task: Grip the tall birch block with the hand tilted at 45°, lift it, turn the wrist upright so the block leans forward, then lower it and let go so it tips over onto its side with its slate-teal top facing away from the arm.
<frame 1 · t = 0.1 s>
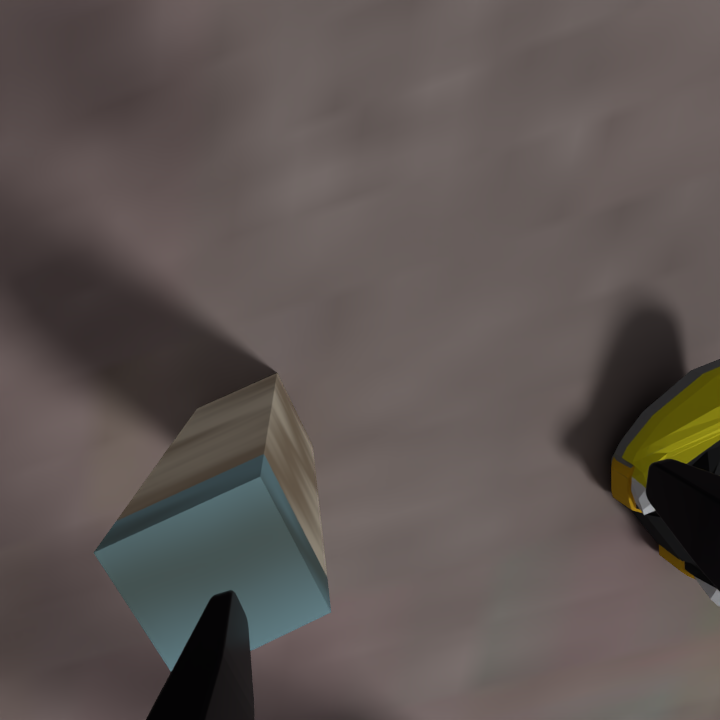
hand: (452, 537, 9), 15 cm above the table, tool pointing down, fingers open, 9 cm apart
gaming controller: (686, 468, 29), on the table
birch block: (256, 427, 24), on the table
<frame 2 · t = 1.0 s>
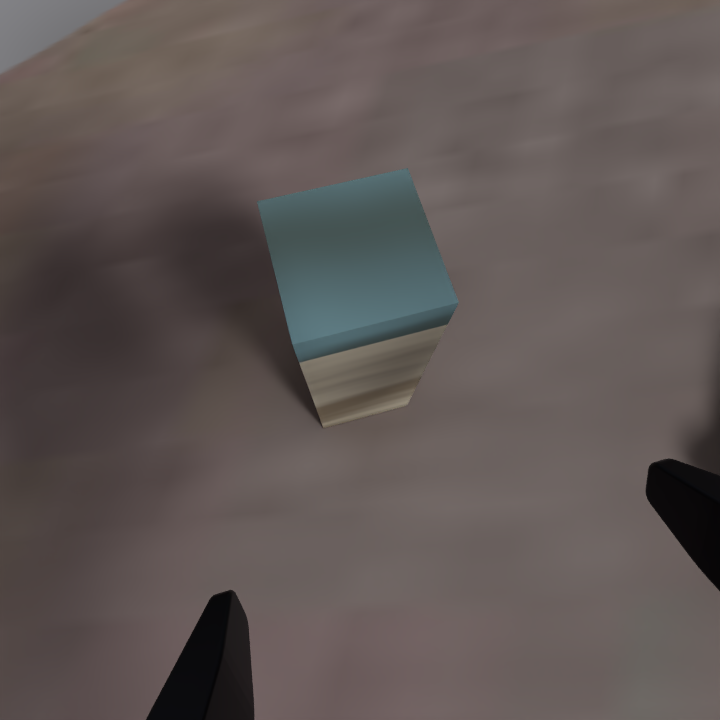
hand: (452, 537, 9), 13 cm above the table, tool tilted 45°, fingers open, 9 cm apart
birch block: (354, 376, 24), on the table
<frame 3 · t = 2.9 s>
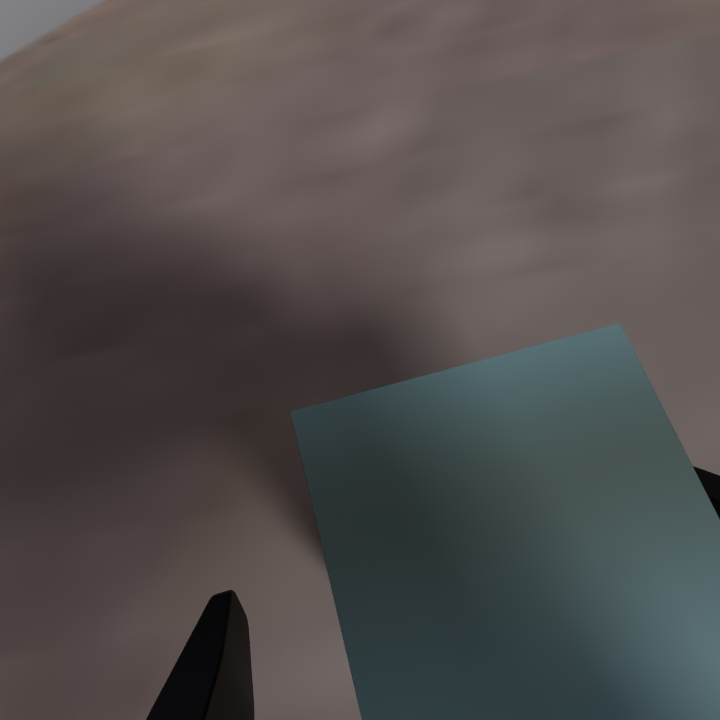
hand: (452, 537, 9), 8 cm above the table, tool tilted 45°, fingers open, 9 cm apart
birch block: (409, 527, 17), on the table
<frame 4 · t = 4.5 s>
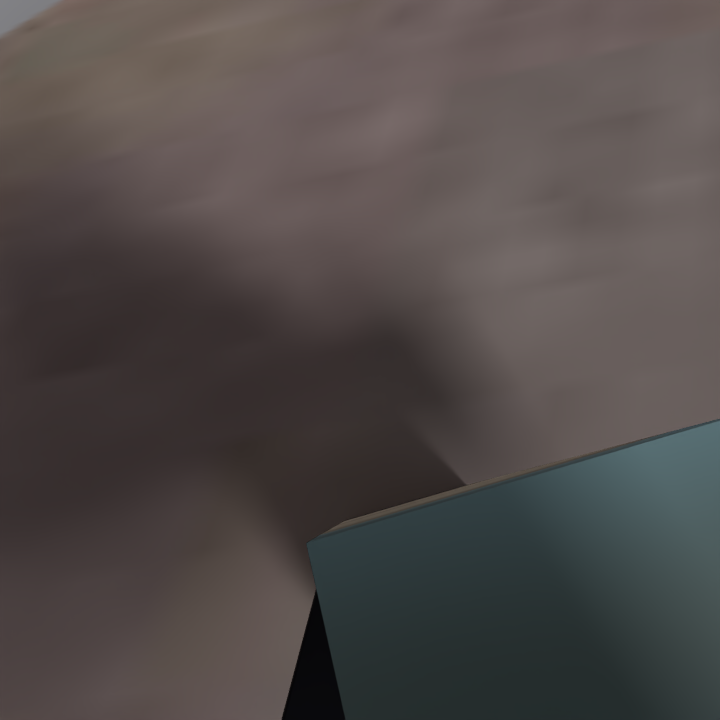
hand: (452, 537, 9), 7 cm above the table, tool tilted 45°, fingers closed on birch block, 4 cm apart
birch block: (426, 571, 15), on the table, touching gripper
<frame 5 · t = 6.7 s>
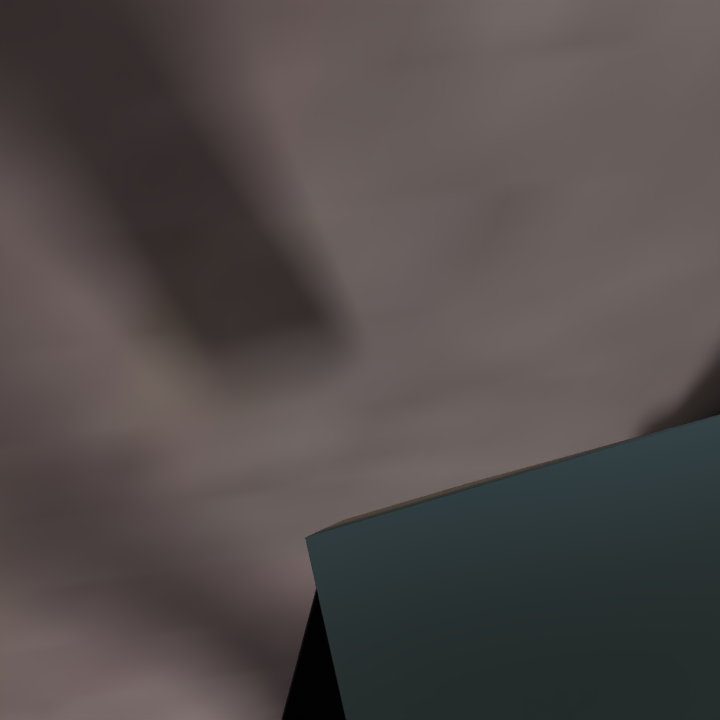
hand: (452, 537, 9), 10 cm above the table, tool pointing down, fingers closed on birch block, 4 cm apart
birch block: (425, 569, 15), point 6 cm above the table, tilted 45°, touching gripper
when the fingers open (6 cm above the table, at t = 8.8 s): birch block moves 2 cm and tips over, point 2 cm above the table.
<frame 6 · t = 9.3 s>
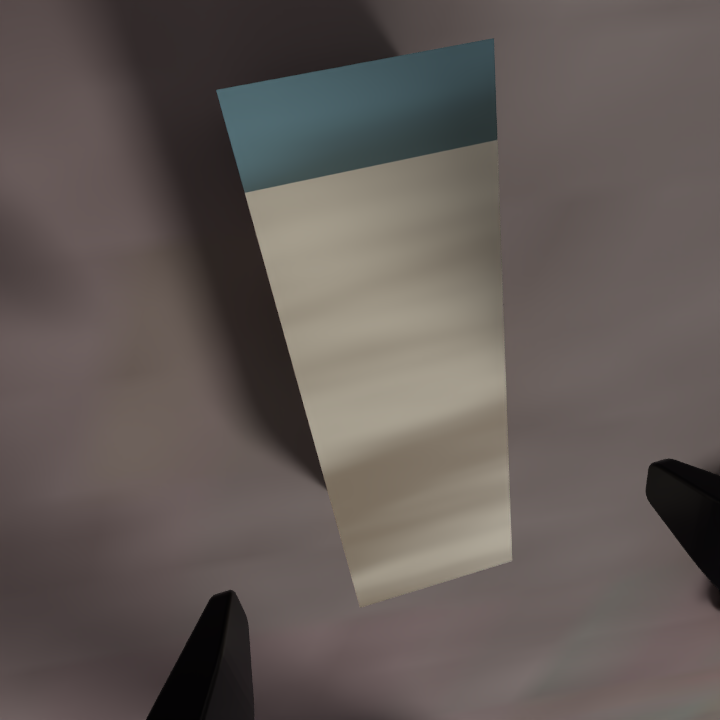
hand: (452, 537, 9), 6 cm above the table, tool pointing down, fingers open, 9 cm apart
birch block: (413, 524, 15), point 2 cm above the table, tilted 90°
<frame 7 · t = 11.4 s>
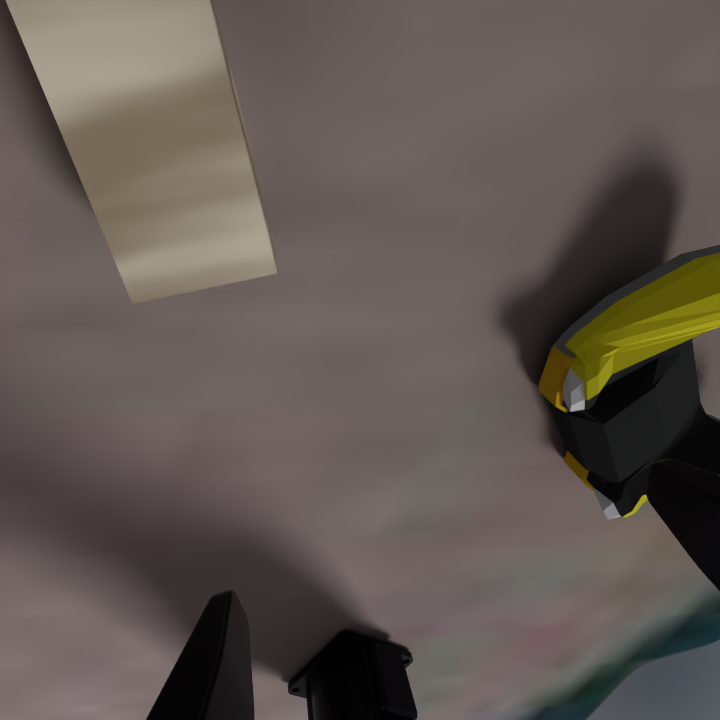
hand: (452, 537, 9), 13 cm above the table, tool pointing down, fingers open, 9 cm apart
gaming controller: (622, 378, 26), on the table
birch block: (212, 269, 16), point 2 cm above the table, tilted 90°
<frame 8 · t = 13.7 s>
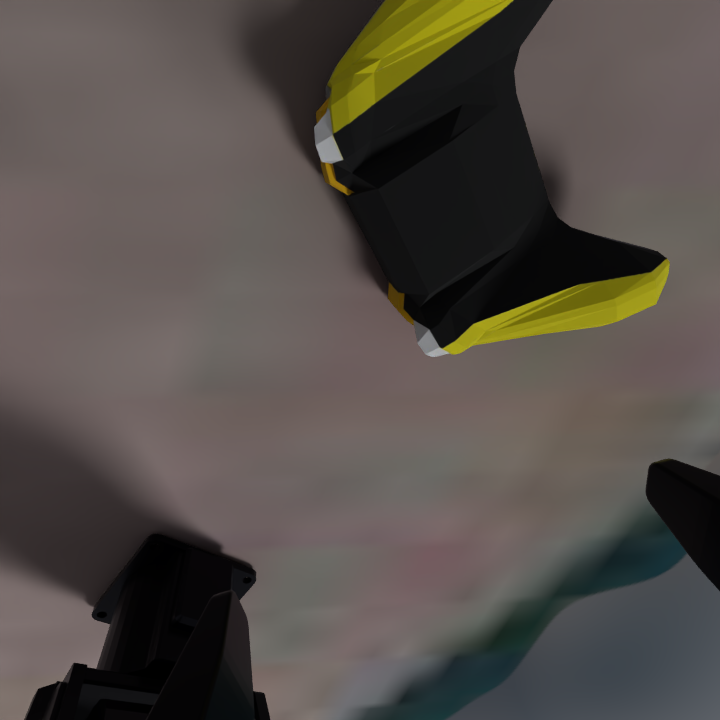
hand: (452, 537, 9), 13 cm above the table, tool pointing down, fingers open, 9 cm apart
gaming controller: (454, 181, 20), on the table
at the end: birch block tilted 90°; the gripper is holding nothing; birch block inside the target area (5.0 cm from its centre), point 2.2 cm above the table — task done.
